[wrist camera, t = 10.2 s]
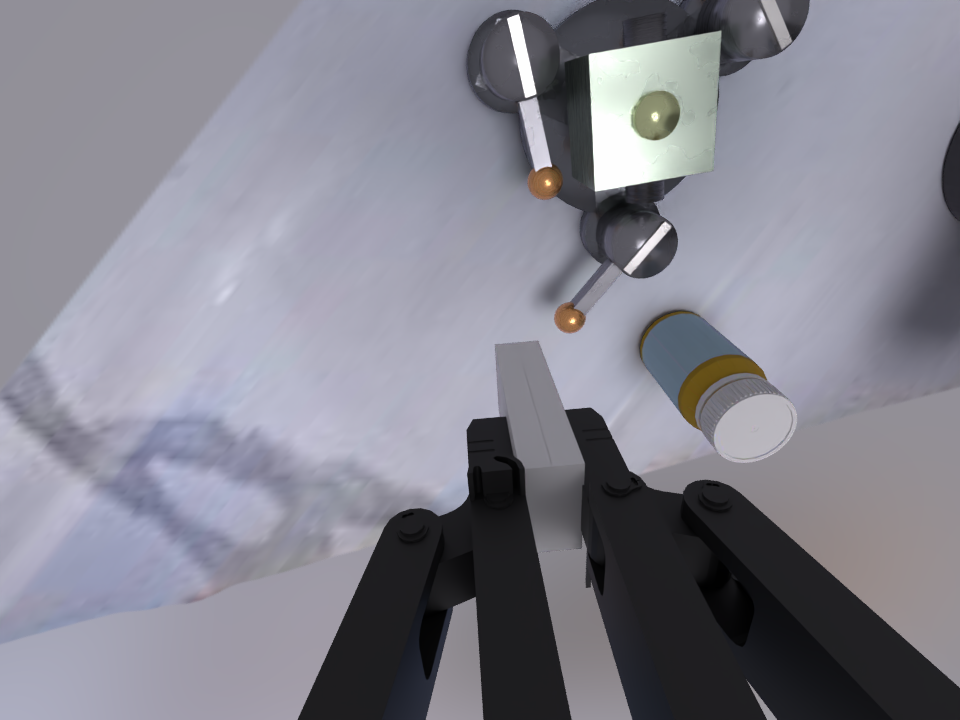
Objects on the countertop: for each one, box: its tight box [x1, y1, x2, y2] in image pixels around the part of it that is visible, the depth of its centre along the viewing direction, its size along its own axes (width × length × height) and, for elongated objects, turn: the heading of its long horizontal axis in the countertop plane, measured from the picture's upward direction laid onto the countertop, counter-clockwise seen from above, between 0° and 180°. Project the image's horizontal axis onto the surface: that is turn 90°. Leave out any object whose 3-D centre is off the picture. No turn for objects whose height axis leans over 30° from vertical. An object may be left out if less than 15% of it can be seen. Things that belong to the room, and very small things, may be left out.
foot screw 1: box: [479, 12, 563, 200], centre depth 35 cm, size 12×5×6 cm, turn 17°
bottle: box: [640, 311, 797, 463], centre depth 43 cm, size 7×7×15 cm
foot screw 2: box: [554, 202, 678, 333], centre depth 41 cm, size 12×5×6 cm, turn 144°
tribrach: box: [467, 0, 751, 264], centre depth 37 cm, size 22×20×10 cm
